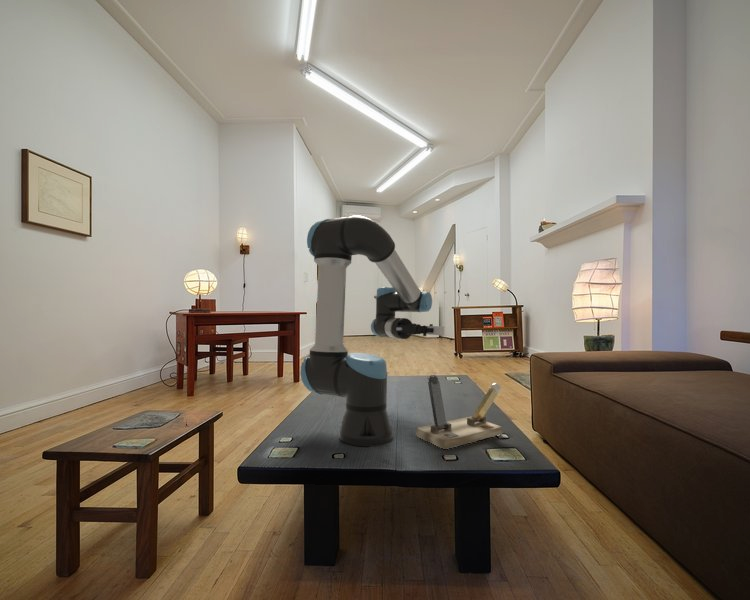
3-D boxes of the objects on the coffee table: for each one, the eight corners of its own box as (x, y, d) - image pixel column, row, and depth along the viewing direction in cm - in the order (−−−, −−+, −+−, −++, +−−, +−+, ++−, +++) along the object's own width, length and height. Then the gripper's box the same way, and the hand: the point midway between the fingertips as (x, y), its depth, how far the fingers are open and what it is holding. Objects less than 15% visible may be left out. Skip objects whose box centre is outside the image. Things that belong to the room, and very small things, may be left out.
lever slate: (433, 430, 104) (425, 376, 107) (442, 428, 105) (433, 375, 109) (440, 430, 101) (431, 375, 105) (449, 428, 103) (439, 374, 107)
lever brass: (468, 418, 111) (490, 381, 104) (476, 416, 113) (498, 380, 106) (474, 425, 109) (497, 388, 102) (482, 423, 111) (505, 387, 104)
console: (416, 436, 106) (416, 421, 106) (471, 424, 118) (471, 410, 118) (445, 450, 96) (445, 433, 96) (501, 435, 108) (501, 420, 108)
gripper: (413, 338, 140) (457, 342, 119) (384, 338, 133) (425, 343, 113) (413, 318, 140) (458, 319, 120) (384, 317, 133) (426, 318, 113)
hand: (442, 330), depth 116 cm, fingers closed
